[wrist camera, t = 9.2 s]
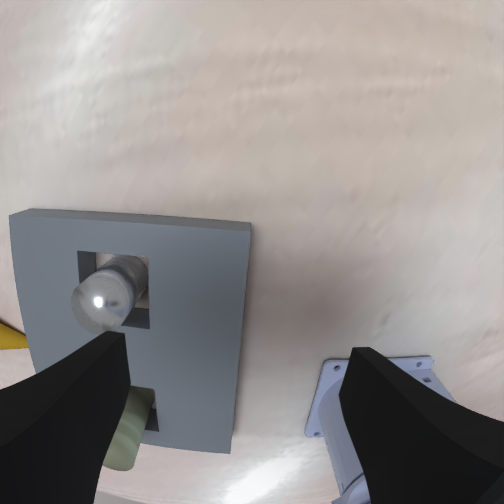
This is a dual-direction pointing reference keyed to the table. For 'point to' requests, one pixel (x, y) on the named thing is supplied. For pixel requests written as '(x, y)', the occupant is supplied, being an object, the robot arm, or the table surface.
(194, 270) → the pin board
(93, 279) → the grey metal pin
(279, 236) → the table surface
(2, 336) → the ice cream cone
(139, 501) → the table surface
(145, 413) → the sage green pin
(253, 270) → the table surface
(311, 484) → the table surface
